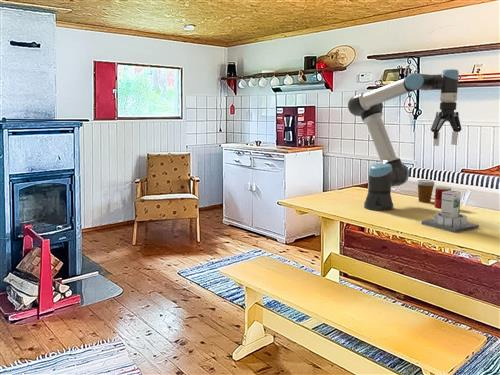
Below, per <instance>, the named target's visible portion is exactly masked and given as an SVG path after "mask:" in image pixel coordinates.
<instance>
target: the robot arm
mask: <svg viewBox="0 0 500 375" xmlns="http://www.w3.org/2000/svg"><path fill="white" fill-rule="evenodd" d="M441 71H442V72H441V73H440V74H427V73H418V72H414V73H409V74H408V75H407V76H406V77H404V78H402V79H399V80H396V81H394V82H392V83H389V84H386V85H384V86H381V87H378V88H376V89H373V90H371V91H368V92H364V91H363V92H360V93H358V94H355V95H353V96H352V97H350V99H349V100H348V103H347V110H348V112H349V113H350V114H352V115H353V116H355V117H361V121H362V123H364V124H366V126H367V129H368V132H369V133H370V136H371V139H372V142H373V144H374V147H375V150H376V153H377V155H378V158H379V161H380V163H373V164H372V165H370V166H369V171H368V183H367V184H368V187H367V195H366V198H365V200H364V204H363V207H364V209H368V210H372V211H392V210H393V209H394V203H393V200H392V196H391V195H392V194H391V192H392V188H393V187H399V186H401V185H402V186H403V185H404V184H405V183H407V181H408V180H409V178H410V169H409V168H408V165H406V164H404V163H403V162H402V160H401V158H400V157H398V156H396V152H395V150H394V148H393V145H392V142H391V140H390V137H389V135H388V131H387V129H386V126H385V124H384V122H383V119H382V117H383V115H384V114H383V108H384V104H383V103H384V102H385V103H386V102H387V101H390V100H392V99H395V98H399V97H401V96H403V95H406V94H409V93H412V92H415V91H418V90H420V91H437V90H439V91H440V96H439V97H440V99H439V100H440V103H439V110H440V111H437V112H435V117H434V120H433V123H432V125H431V127H430V131H431V132H432V133H433V145H432V146H436V147H439V146H440V135H441V132H440V130H441V129H442V127H443V126H444V124H445V123H446V122H449V124H450V125H449V126H450V127H451V130H452V131H451V142H450V145H454V146H457V145H458V138H459V133H460V132H461V131H462V126H461V125H462V124H461V122H460V121H461V120H460V117H459V116H460V115H459V114H460V113H459V111H456V110H457V105H458V104H457V102H458V101H457V100H458V88H459V87H458V86H459V80H460V76H459V70H458V69H456V68H455V69H453V68H452V69H443V70H441Z"/></svg>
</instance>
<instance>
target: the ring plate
mask: <svg viewBox="0 0 500 375" xmlns="http://www.w3.org/2000/svg"><path fill="white" fill-rule="evenodd" d="M421 225H424V226H429V227H433V228H436V229H440V230H443V231H447V232H452V233H461V232H466V231H471V230H478V229H479V228H480V225H479V224H475V223H471V222H468V216H467V215H465V214H463V213H459V218H448V217H442V216H441V211H438V212H435V213H434V214H433V218H430V219H425V220H421Z"/></svg>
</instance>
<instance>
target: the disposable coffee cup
mask: <svg viewBox="0 0 500 375" xmlns="http://www.w3.org/2000/svg"><path fill="white" fill-rule="evenodd" d="M416 183H417V192H418V194H417V195H418V202H420V203H425V204H427V203H431V200H432V195H433V191H434V187H435V181H434V180H432V179H431V180H430V179H418V180H417V182H416Z"/></svg>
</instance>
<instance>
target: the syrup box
mask: <svg viewBox="0 0 500 375" xmlns="http://www.w3.org/2000/svg"><path fill="white" fill-rule="evenodd" d="M461 193H462V192H461V191H458V190H451V191H445V192H442V205H441V209H440V212H441V216H442V217H448V218H459V214H460V211H461V210H460V209H461V195H462V194H461Z"/></svg>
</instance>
